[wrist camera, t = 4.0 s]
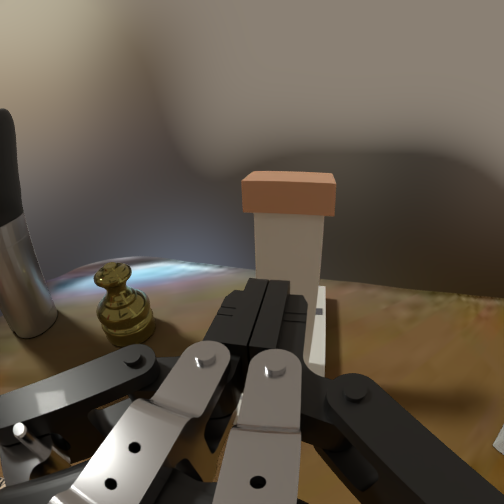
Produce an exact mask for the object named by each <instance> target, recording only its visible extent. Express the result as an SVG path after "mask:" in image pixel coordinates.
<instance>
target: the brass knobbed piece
mask: <svg viewBox="0 0 504 504" xmlns="http://www.w3.org/2000/svg"><path fill="white" fill-rule="evenodd" d="M131 274H132V270H131V268H130V266H129V265H127V264H124V263H115V262H110V263H107V264H105V265H104V266H103V267H102V268H100V269H99V270H98V271H97V272H96V274H95V275H94V282H95V284H96V285H97V286H99V287H102V288H105V289H106V290H107V292H106V294H105V295H104V297H103V299H102V300H101V301H100V302H99V304H98V306H97V310H96V313H97V317H98V319H99V321H100V322H101V323H102V324H101V325H102V329H103V331H104V332H105V334H106V337H107V339H108V340H109V342H111V343H112V344H114V345H116V346H120V347H126V346H129V345H133V344H140V343H142V342H144V341H146V340H147V339H148V338H149V337H150V336H151V335H152V334H153V332H154V330H155V326H156V324H155V320H154V317H153V311H152V309H151V308H150V301H149V298H148V296H147V295H146V294H145V293H144V292H142V291H141V290H138V289H133V288H132V287H128V286H127V285H126V281H127V280H128V279H129V278H130V276H131Z"/></svg>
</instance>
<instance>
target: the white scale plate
mask: <svg viewBox="0 0 504 504" xmlns="http://www.w3.org/2000/svg"><path fill="white" fill-rule="evenodd" d="M325 338H326V303H325V286H319V287H318V297H317V305H316V314H315V322H314V330H313V337H312V344H311V351H310V358H309V364H308V368H309V369H310V370H311V371H312V372H314V373H315V374H317V375H319V376H322V377H324V375H325ZM242 397H243V393H242V394H241V397H240V400H239V403H238V413H237V415H236V418H235V420H234V423H233V424H234V425H236V423H237V420H238V416H239V411H240V407H241V402H242Z"/></svg>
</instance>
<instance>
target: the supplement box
mask: <svg viewBox="0 0 504 504" xmlns="http://www.w3.org/2000/svg"><path fill="white" fill-rule="evenodd" d="M493 446H494V447H495V448H496V449H497V450H498V451H499V452H501V453H502V454H503V455H504V425H503V427H502V429H501V431H500V433H499V435H498V436H497V438H496V440H495V442H494V444H493Z"/></svg>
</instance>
